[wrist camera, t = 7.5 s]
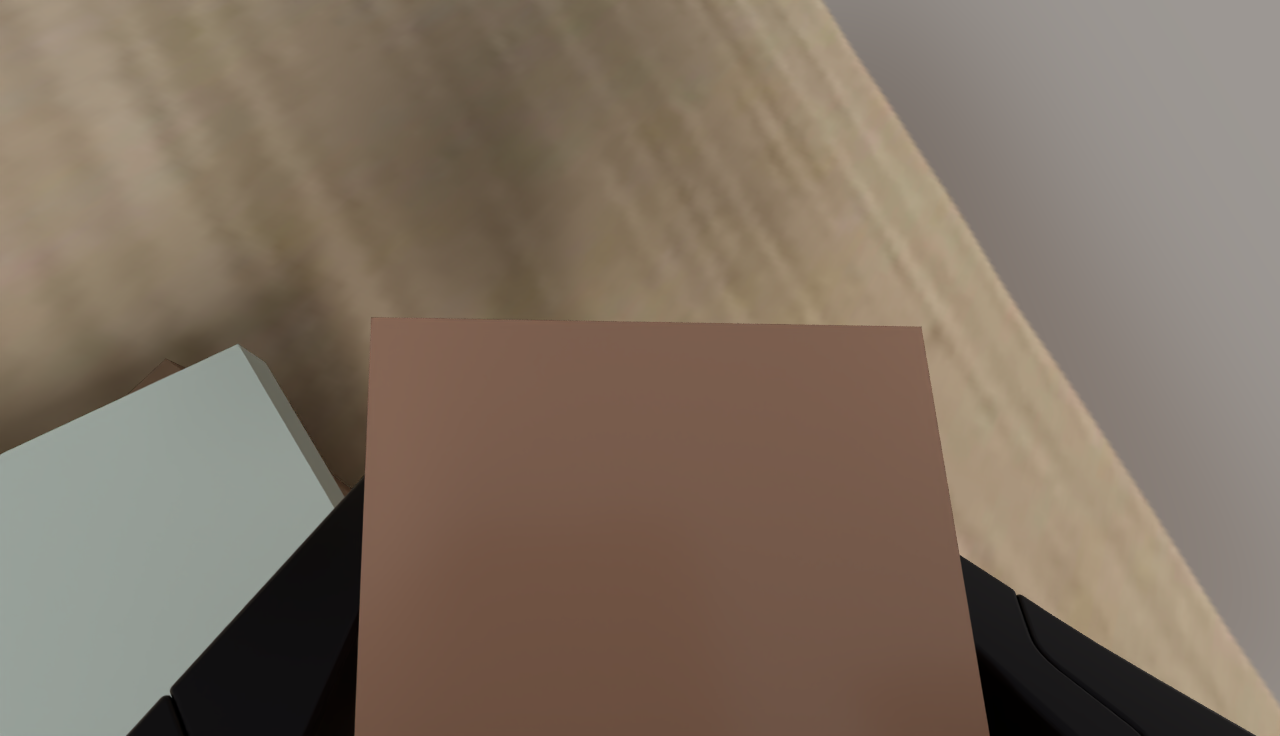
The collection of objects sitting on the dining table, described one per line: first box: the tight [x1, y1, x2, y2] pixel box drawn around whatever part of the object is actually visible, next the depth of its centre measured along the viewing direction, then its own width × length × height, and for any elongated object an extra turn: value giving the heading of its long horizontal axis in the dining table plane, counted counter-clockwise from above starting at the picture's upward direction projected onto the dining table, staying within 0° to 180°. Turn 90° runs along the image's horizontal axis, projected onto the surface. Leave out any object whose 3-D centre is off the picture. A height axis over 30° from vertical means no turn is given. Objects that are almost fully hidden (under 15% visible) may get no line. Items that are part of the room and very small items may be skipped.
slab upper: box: [0, 344, 344, 736], centre depth 15 cm, size 10×10×2 cm
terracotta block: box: [354, 317, 990, 736], centre depth 10 cm, size 4×4×11 cm
